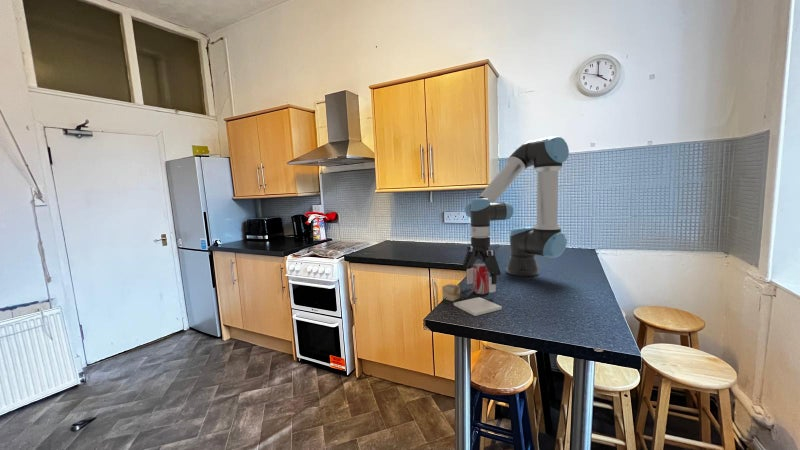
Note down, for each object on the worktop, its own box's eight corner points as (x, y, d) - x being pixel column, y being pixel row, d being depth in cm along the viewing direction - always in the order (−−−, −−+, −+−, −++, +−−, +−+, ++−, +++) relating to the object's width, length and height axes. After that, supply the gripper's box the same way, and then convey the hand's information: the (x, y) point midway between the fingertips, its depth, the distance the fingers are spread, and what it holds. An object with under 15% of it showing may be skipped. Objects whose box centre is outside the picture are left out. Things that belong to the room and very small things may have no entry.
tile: (479, 299, 122) (479, 297, 122) (501, 309, 112) (501, 306, 111) (453, 305, 117) (453, 302, 117) (474, 316, 106) (474, 313, 106)
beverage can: (470, 291, 132) (469, 263, 131) (482, 289, 134) (482, 262, 133) (478, 296, 126) (478, 266, 125) (491, 294, 128) (491, 265, 127)
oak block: (449, 295, 129) (449, 283, 128) (460, 298, 125) (460, 285, 125) (442, 298, 125) (442, 286, 124) (453, 301, 122) (452, 288, 121)
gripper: (454, 234, 137) (455, 281, 140) (495, 241, 115) (495, 297, 117) (468, 232, 141) (468, 279, 143) (510, 239, 118) (510, 294, 121)
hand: (480, 287), depth 130 cm, fingers open, 13 cm apart
